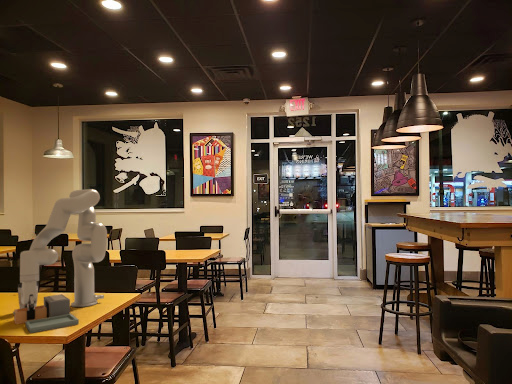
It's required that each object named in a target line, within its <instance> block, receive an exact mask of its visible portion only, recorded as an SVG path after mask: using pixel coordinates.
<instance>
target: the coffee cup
mask: <svg viewBox="0 0 512 384" xmlns="http://www.w3.org/2000/svg"><path fill="white" fill-rule="evenodd" d="M36 287H37V297H36V303H35V306H38V305H37V304H38V297H39V296H38V294H39V281H36ZM17 290H18V291H17V296H18V305H19V309H22V308H24V305H23V304H22V302H21V294H22V283H21V282H20V281H19V284H18V283H17ZM25 308H26V307H25Z"/></svg>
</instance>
